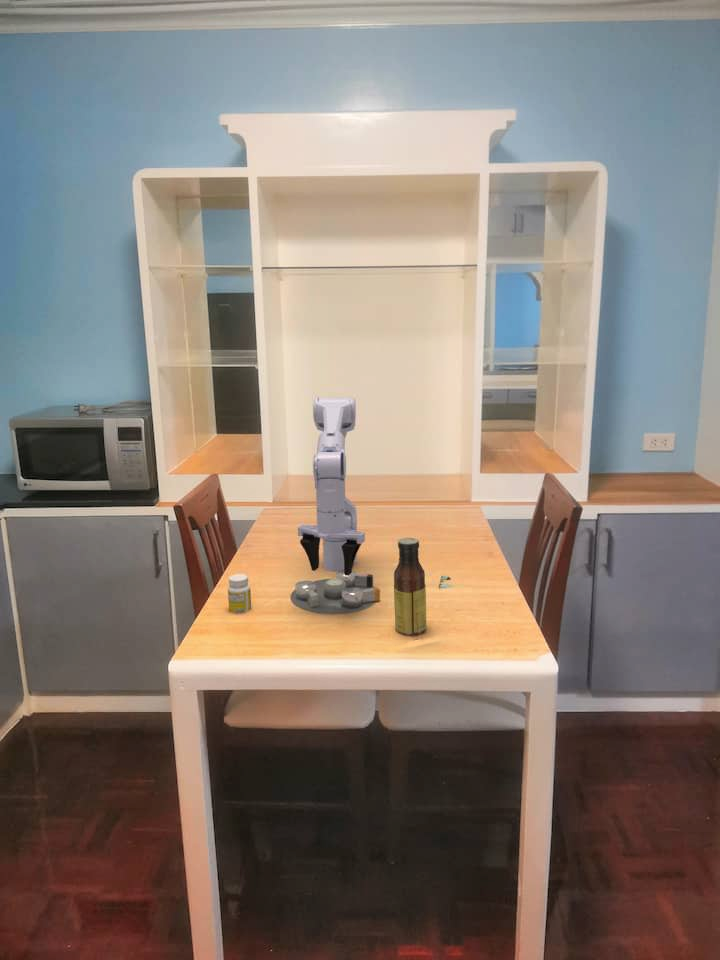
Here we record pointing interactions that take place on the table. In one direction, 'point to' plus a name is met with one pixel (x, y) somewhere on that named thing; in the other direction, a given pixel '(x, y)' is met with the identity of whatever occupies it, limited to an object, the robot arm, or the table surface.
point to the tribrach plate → (328, 603)
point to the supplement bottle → (239, 594)
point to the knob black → (355, 579)
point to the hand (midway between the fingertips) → (331, 571)
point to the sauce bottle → (409, 590)
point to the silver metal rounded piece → (307, 592)
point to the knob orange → (359, 596)
